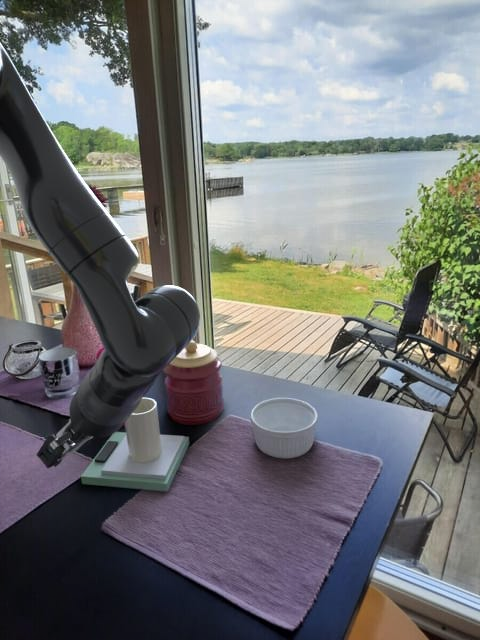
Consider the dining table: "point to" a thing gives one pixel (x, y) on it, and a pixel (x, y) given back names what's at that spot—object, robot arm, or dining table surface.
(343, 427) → the dining table surface
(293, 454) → the ramekin
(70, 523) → the dining table surface
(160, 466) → the scale
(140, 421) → the cup
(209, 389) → the kitchen canister
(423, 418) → the dining table surface
